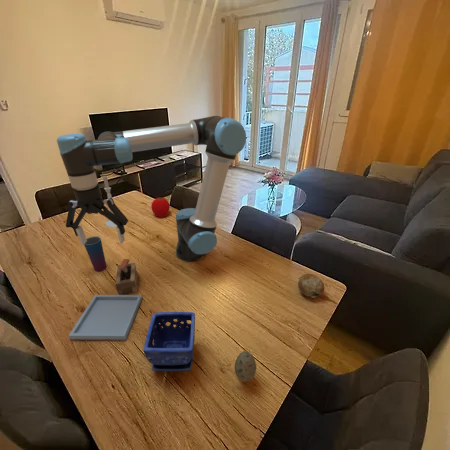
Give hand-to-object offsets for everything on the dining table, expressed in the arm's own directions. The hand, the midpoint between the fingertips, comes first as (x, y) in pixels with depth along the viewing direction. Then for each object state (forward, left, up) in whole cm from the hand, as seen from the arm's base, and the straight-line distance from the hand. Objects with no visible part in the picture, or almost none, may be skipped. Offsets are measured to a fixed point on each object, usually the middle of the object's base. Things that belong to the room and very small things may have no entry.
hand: (103, 242), depth 88 cm
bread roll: (-77, -3, -24) cm, 81 cm away
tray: (-3, +13, -23) cm, 27 cm away
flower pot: (-29, +27, -24) cm, 46 cm away
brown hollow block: (-3, -4, -23) cm, 24 cm away
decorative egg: (-50, +33, -24) cm, 64 cm away
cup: (+13, -15, -24) cm, 31 cm away
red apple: (-2, -68, -24) cm, 72 cm away
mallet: (-3, -6, -23) cm, 24 cm away
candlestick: (+23, -58, -24) cm, 67 cm away
